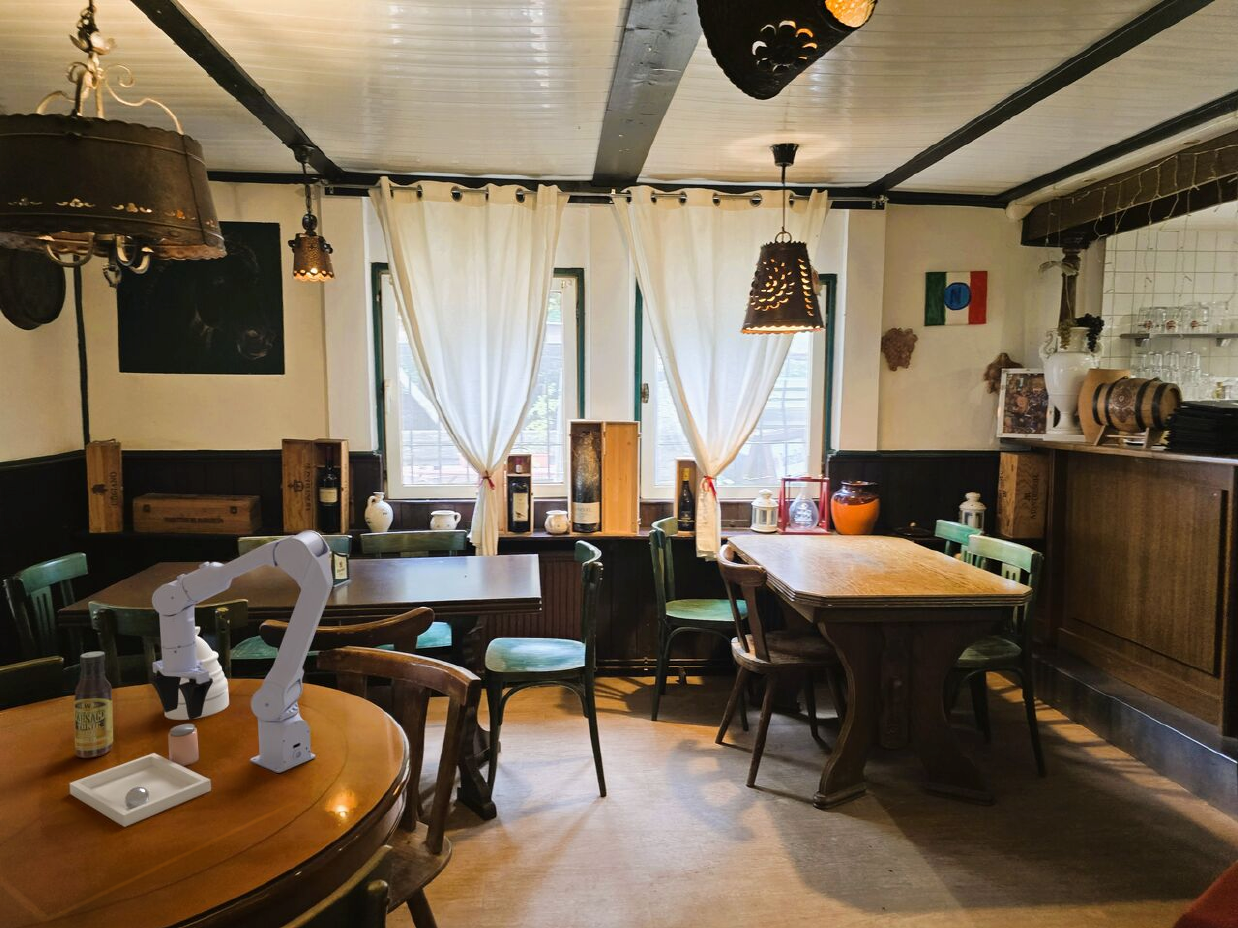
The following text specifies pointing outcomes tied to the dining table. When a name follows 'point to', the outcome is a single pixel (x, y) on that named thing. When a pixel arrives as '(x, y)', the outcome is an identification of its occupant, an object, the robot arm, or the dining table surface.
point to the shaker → (183, 744)
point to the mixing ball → (136, 797)
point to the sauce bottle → (93, 708)
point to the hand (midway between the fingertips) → (183, 713)
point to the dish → (150, 772)
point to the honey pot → (217, 691)
